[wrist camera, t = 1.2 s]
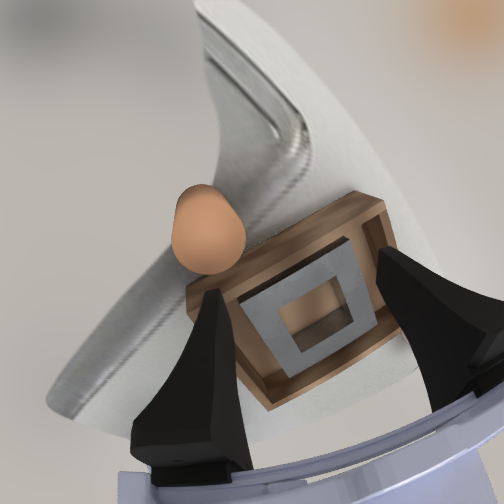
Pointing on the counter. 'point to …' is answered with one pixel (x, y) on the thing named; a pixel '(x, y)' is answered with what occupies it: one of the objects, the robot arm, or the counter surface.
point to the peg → (206, 231)
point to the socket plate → (325, 329)
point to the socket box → (308, 305)
